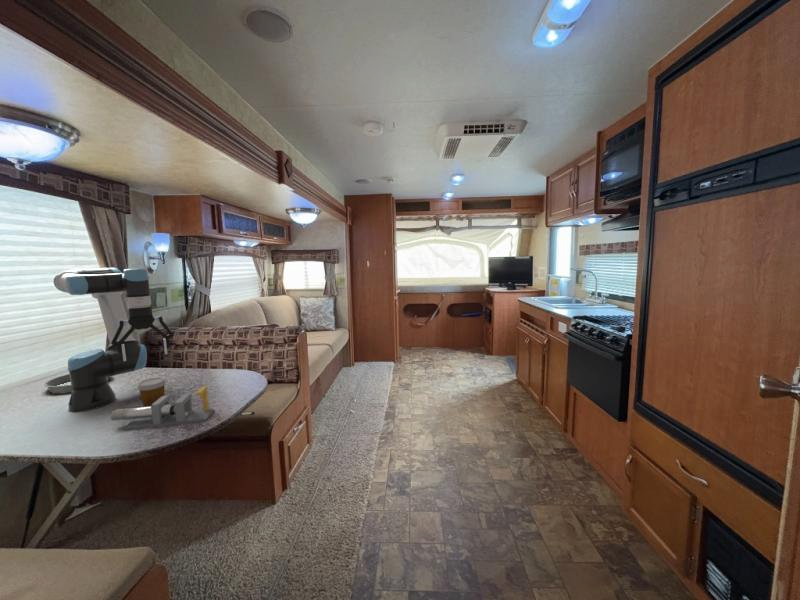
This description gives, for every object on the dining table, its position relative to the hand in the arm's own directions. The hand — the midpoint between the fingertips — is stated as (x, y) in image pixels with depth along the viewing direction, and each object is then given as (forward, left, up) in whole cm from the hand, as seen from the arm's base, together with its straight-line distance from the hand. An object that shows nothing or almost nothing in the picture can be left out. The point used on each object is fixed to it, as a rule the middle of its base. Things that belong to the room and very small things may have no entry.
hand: (146, 356), depth 135 cm
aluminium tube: (+5, -13, -21) cm, 25 cm away
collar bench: (+13, -13, -23) cm, 29 cm away
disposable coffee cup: (+1, 0, -23) cm, 23 cm away
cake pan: (-52, +40, -23) cm, 70 cm away
